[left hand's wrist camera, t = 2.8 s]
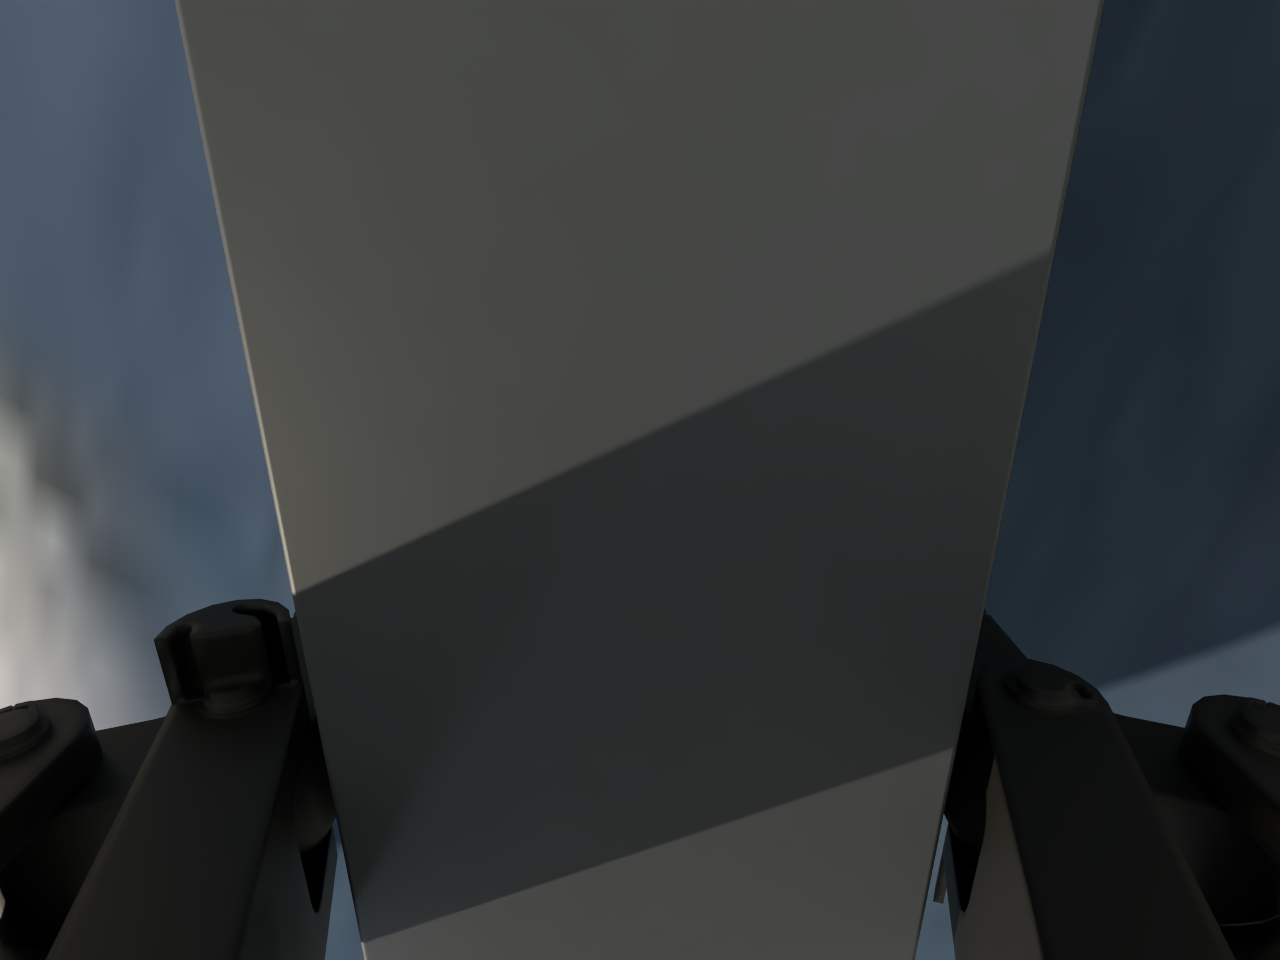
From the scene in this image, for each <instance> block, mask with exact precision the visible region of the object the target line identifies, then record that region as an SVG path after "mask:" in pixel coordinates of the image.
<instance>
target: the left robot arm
mask: <svg viewBox="0 0 1280 960" xmlns="http://www.w3.org/2000/svg"><path fill="white" fill-rule="evenodd" d="M154 643H155V646H156V650H157V653H158V657H159V660H160V664H161V667H162V671H163V674H164V678H165V681H166V685H167V688H168V692H169V695H170V699H171V702H172V705H171V707H170V709H169V711H168V713H167V715H166V717H162V718H158V719H154V720H149V721H144V722H139V723H134V724H129V725H124V726H119V727H114V728H109V729H104V730H99V731H95V728H94V725H93V722H92V719H91V716H90V713H89V710H88V708H87V707H86V706H84V705H83V704H81V703H80V702H79V701H77V700H71V699H62V698H52V699H44V700H37V701H27V702H23V703H19V704H15V706H13V707H12V705H11V706H8V707H5V708H2V709H0V960H325V952H326V944H327V936H328V928H329V919H330V911H331V903H332V895H333V887H334V879H335V871H336V862H337V849H336V842H335V837H334V832H333V827H332V823H333V821H334V819H335V817H336V812H335V807H334V802H333V797H332V792H331V787H330V782H329V777H328V772H327V766H326V761H325V756H324V751H323V746H322V741H321V736H320V731H319V726H318V721H317V716H316V711H315V706H314V701H313V696H312V691H311V686H310V681H309V676H308V671H307V666H306V661H305V655H304V650H303V645H302V640H301V635H300V630H299V625H298V620H297V615H296V612H295V613H294V616H293V618H290V614H289V610H288V609H287V608H285V607H284V606H283V605H281V604H280V603H278V602H274V601H269V600H263V599H247V600H235V601H230V602H225V603H220V604H216V605H211V606H209V607H206V608H203V609H200V610H198V611H195V612H192V613H190V614H187V615H185V616H184V617H182V618H180V619H179V620H177V621H175V622H173V623H172V624H170V625H168V626H167V627H166V628H165V629H164V630H163V631H162V632H161V633H160V634H159V635H158V636H157V637H156V638H155V639H154ZM944 815H945V817H946V819H947V821H948V827H947V832H946V837H945V842H944V847H943V851H942V856H941V861H940V866H939V871H938V876H937V881H936V886H935V893H934V899H933V901H935V902H939V903H943V902H944V897H945V892H946V888H947V893H948V901H949V910H950V918H951V926H952V934H953V942H954V950H955V958H956V960H1280V705H1277V704H1274V703H1271V702H1269V703H1266V702H1265V701H1264V700H1260V699H1255V698H1250V697H1248V698H1247V697H1239V696H1232V695H1215V696H1206V697H1203V698H1201V699H1200V700H1199V701H1197V702H1196V703H1194V704H1193V705H1192V708H1191V711H1190V714H1189V717H1188V720H1187V723H1186V726H1185V728H1183V727H1178V726H1173V725H1167V724H1162V723H1157V722H1152V721H1147V720H1142V719H1137V718H1132V717H1127V716H1123V715H1119V714H1115V713H1113V712H1112V710H1111V708H1110V706H1109V704H1108V702H1107V701H1106V700H1105V699H1104V697H1103V696H1102V695H1101V694H1100V692H1099V691H1098V690H1097V689H1096V688H1095V687H1093V686H1092V685H1090V684H1089V683H1088V682H1086V681H1085V680H1083V679H1082V678H1080V677H1079V676H1077V675H1075V674H1073V673H1071V672H1068V671H1066V670H1064V669H1062V668H1059V667H1057V666H1055V665H1051V664H1047V663H1043V662H1039V661H1035V660H1031V659H1027V658H1026V657H1025V655H1024V654H1023V653H1022V652H1021V651H1020V650H1019V648H1018V647H1017V646H1016V645H1015V644H1014V643H1013V642H1012V640H1011V639H1010V638H1009V637H1008V636H1007V635H1006V633H1005V632H1004V631H1003V630H1002V629H1001V628H1000V626H999V625H998V624H997V623H996V622H995V621H994V620H993V618H992V617H991V616H990V615H987V614H986V610H985V609H984V612H983V617H982V622H981V627H980V632H979V637H978V642H977V647H976V652H975V657H974V662H973V667H972V672H971V677H970V682H969V687H968V693H967V698H966V703H965V708H964V713H963V718H962V723H961V728H960V733H959V738H958V743H957V748H956V753H955V758H954V763H953V768H952V773H951V778H950V784H949V789H948V794H947V799H946V804H945V809H944Z"/></svg>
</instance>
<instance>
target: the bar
mask: <svg viewBox="0 0 1280 960" xmlns="http://www.w3.org/2000/svg"><path fill="white" fill-rule="evenodd" d="M175 5H176V10H177V15H178V20H179V25H180V30H181V35H182V40H183V45H184V50H185V55H186V60H187V65H188V70H189V75H190V80H191V85H192V90H193V95H194V100H195V105H196V110H197V116H198V121H199V126H200V131H201V136H202V141H203V146H204V151H205V156H206V161H207V166H208V171H209V176H210V181H211V186H212V191H213V196H214V201H215V206H216V211H217V216H218V222H219V227H220V232H221V237H222V242H223V247H224V252H225V257H226V262H227V267H228V272H229V277H230V282H231V287H232V292H233V297H234V302H235V307H236V312H237V317H238V322H239V327H240V333H241V338H242V343H243V348H244V353H245V358H246V363H247V368H248V373H249V378H250V383H251V388H252V393H253V398H254V403H255V408H256V413H257V418H258V423H259V428H260V433H261V438H262V444H263V449H264V454H265V459H266V464H267V469H268V474H269V479H270V484H271V489H272V494H273V499H274V504H275V509H276V514H277V519H278V524H279V529H280V534H281V539H282V544H283V550H284V555H285V560H286V565H287V570H288V575H289V580H290V585H291V590H292V595H293V600H294V605H295V610H296V615H297V620H298V625H299V630H300V635H301V640H302V645H303V650H304V655H305V661H306V666H307V671H308V676H309V681H310V686H311V691H312V696H313V701H314V706H315V711H316V716H317V721H318V726H319V731H320V736H321V741H322V746H323V751H324V756H325V761H326V766H327V772H328V777H329V782H330V787H331V792H332V797H333V802H334V807H335V812H336V817H337V822H338V827H339V832H340V837H341V842H342V847H343V852H344V857H345V862H346V867H347V872H348V878H349V883H350V888H351V893H352V898H353V903H354V908H355V913H356V918H357V923H358V928H359V933H360V938H361V943H362V948H363V953H364V958H365V960H915V956H916V950H917V945H918V940H919V935H920V930H921V925H922V920H923V915H924V910H925V905H926V900H927V895H928V890H929V885H930V880H931V875H932V870H933V864H934V859H935V854H936V849H937V844H938V839H939V834H940V829H941V824H942V819H943V814H944V809H945V804H946V799H947V794H948V789H949V784H950V778H951V773H952V768H953V763H954V758H955V753H956V748H957V743H958V738H959V733H960V728H961V723H962V718H963V713H964V708H965V703H966V698H967V693H968V687H969V682H970V677H971V672H972V667H973V662H974V657H975V652H976V647H977V642H978V637H979V632H980V627H981V622H982V617H983V612H984V607H985V601H986V596H987V591H988V586H989V581H990V576H991V571H992V566H993V561H994V556H995V551H996V546H997V541H998V536H999V531H1000V526H1001V521H1002V515H1003V510H1004V505H1005V500H1006V495H1007V490H1008V485H1009V480H1010V475H1011V470H1012V465H1013V460H1014V455H1015V450H1016V445H1017V440H1018V435H1019V429H1020V424H1021V419H1022V414H1023V409H1024V404H1025V399H1026V394H1027V389H1028V384H1029V379H1030V374H1031V369H1032V364H1033V359H1034V354H1035V349H1036V344H1037V338H1038V333H1039V328H1040V323H1041V318H1042V313H1043V308H1044V303H1045V298H1046V293H1047V288H1048V283H1049V278H1050V273H1051V268H1052V263H1053V258H1054V252H1055V247H1056V242H1057V237H1058V232H1059V227H1060V222H1061V217H1062V212H1063V207H1064V202H1065V197H1066V192H1067V187H1068V182H1069V177H1070V172H1071V166H1072V161H1073V156H1074V151H1075V146H1076V141H1077V136H1078V131H1079V126H1080V121H1081V116H1082V111H1083V106H1084V101H1085V96H1086V91H1087V86H1088V80H1089V75H1090V70H1091V65H1092V60H1093V55H1094V50H1095V45H1096V40H1097V35H1098V30H1099V25H1100V20H1101V15H1102V10H1103V5H1104V0H175Z"/></svg>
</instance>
